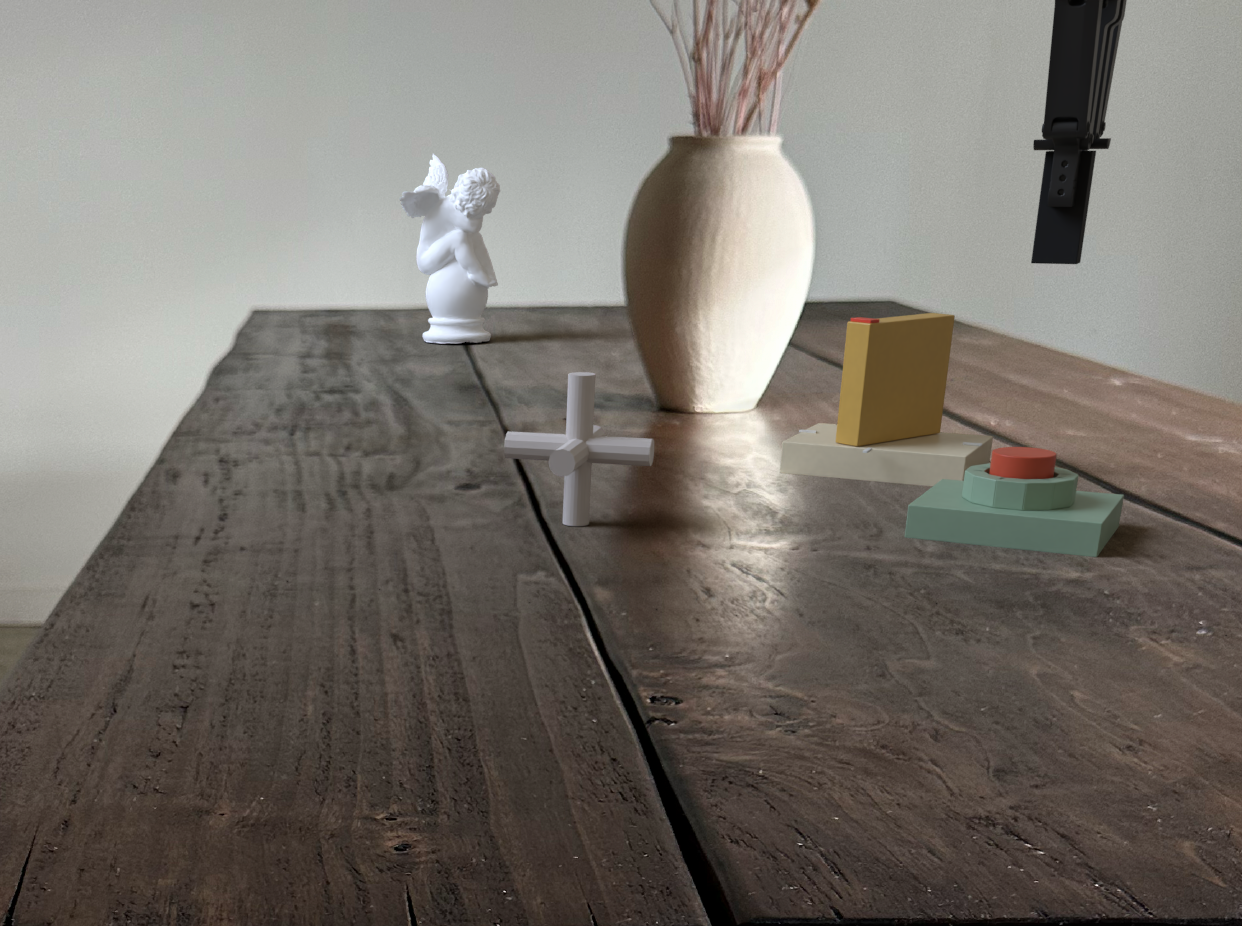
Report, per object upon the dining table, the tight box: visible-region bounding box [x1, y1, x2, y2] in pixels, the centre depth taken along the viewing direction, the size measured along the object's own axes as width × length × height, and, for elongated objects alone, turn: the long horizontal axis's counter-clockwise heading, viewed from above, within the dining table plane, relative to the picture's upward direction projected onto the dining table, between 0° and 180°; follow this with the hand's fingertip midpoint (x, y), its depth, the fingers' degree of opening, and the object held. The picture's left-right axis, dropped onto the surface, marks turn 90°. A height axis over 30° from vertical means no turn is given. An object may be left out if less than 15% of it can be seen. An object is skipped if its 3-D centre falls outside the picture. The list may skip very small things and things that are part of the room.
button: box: [989, 446, 1057, 479], centre depth 111 cm, size 4×4×2 cm
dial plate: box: [779, 422, 994, 488], centre depth 133 cm, size 14×14×3 cm
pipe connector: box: [503, 371, 655, 527], centre depth 114 cm, size 10×10×10 cm
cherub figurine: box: [399, 152, 501, 345], centre depth 209 cm, size 12×12×22 cm
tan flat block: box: [835, 312, 956, 446], centre depth 130 cm, size 10×2×9 cm, turn 126°
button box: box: [904, 462, 1125, 558], centre depth 112 cm, size 12×10×4 cm
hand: (1055, 262), depth 106 cm, fingers closed
